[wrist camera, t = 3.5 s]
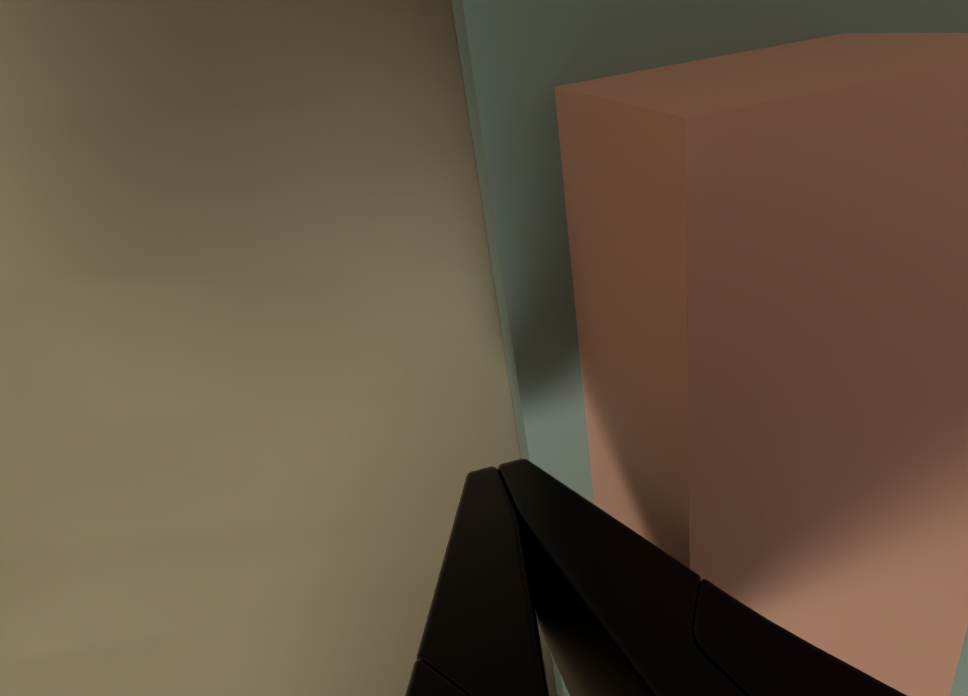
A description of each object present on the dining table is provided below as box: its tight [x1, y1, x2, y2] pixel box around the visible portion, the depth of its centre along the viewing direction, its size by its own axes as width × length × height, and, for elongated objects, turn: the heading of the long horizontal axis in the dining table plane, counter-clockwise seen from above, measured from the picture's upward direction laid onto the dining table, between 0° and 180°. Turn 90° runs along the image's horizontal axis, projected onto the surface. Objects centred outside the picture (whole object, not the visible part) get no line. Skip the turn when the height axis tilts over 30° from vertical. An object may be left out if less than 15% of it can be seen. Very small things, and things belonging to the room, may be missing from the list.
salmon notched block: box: [554, 33, 968, 696], centre depth 9 cm, size 10×9×4 cm
